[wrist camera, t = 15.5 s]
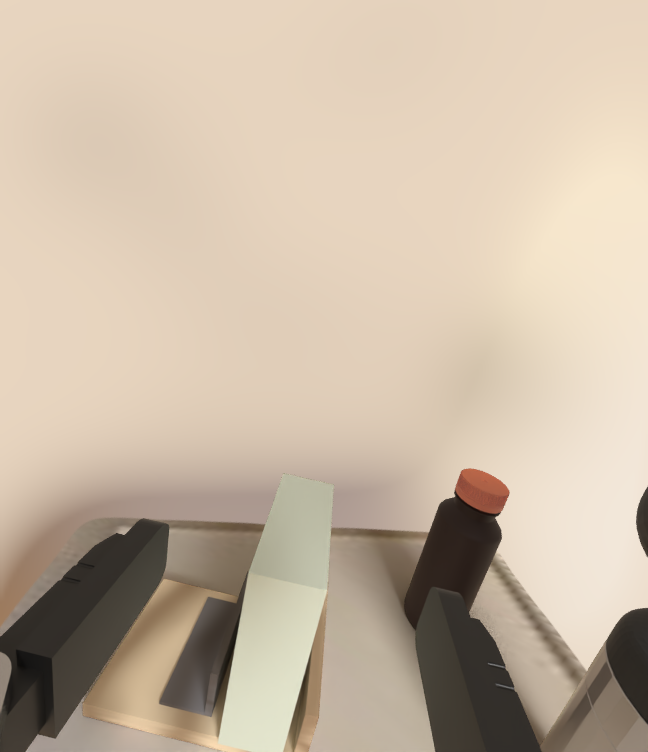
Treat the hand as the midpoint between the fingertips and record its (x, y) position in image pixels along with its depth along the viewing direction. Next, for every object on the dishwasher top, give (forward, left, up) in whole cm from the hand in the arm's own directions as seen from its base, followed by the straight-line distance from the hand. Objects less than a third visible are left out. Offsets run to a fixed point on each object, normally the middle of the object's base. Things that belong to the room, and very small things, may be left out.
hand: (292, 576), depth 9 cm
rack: (+1, -14, -28) cm, 31 cm away
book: (-3, -13, -26) cm, 29 cm away
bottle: (-24, -18, -28) cm, 41 cm away
